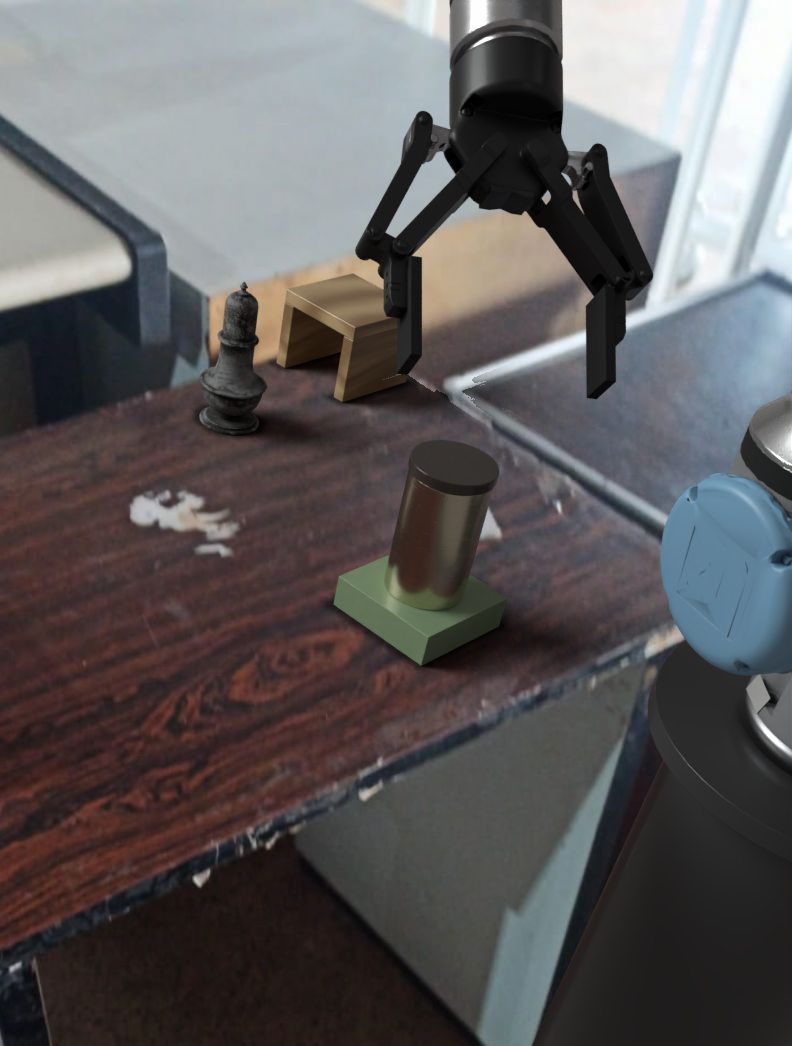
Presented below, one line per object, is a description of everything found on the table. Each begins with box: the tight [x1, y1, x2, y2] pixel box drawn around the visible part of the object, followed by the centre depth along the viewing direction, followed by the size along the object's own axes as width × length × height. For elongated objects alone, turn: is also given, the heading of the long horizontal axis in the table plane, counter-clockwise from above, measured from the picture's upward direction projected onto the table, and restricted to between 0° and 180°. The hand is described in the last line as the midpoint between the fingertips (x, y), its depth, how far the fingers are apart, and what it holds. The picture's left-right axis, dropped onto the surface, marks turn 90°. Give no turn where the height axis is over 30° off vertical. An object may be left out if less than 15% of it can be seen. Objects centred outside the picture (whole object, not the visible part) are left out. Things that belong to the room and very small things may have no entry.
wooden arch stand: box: [276, 273, 408, 403], centre depth 121 cm, size 9×9×7 cm
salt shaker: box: [199, 281, 268, 436], centre depth 109 cm, size 6×6×12 cm
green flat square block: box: [333, 554, 508, 667], centre depth 95 cm, size 9×9×2 cm
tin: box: [384, 439, 500, 610], centre depth 91 cm, size 6×6×10 cm
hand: (507, 378), depth 84 cm, fingers open, 13 cm apart
